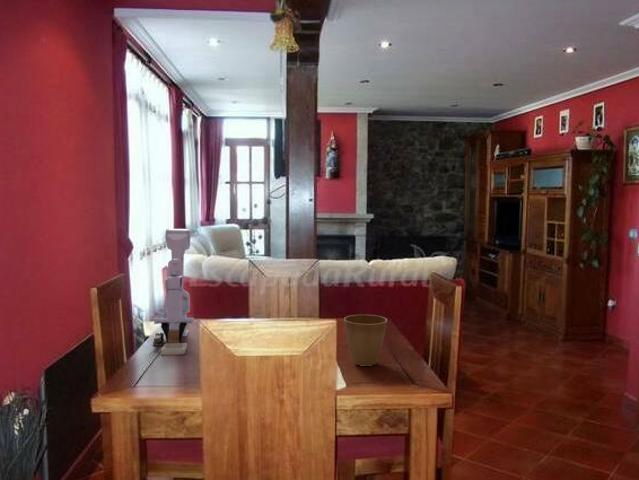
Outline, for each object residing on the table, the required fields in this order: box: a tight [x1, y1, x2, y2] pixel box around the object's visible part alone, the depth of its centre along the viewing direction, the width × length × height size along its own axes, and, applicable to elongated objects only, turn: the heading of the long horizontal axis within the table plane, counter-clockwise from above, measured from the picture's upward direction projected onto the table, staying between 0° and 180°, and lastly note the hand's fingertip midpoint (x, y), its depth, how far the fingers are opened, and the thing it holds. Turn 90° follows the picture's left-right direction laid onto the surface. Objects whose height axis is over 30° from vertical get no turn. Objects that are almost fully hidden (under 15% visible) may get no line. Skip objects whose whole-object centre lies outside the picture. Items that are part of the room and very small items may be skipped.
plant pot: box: [343, 314, 388, 366], centre depth 183 cm, size 15×15×16 cm
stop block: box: [168, 329, 179, 343], centre depth 201 cm, size 4×4×6 cm
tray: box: [160, 342, 188, 356], centre depth 193 cm, size 8×8×2 cm
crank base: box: [152, 340, 167, 347], centre depth 203 cm, size 6×10×4 cm, turn 97°
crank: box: [153, 331, 165, 344], centre depth 199 cm, size 9×3×3 cm, turn 7°
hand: (174, 342), depth 201 cm, fingers closed on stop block, 4 cm apart
